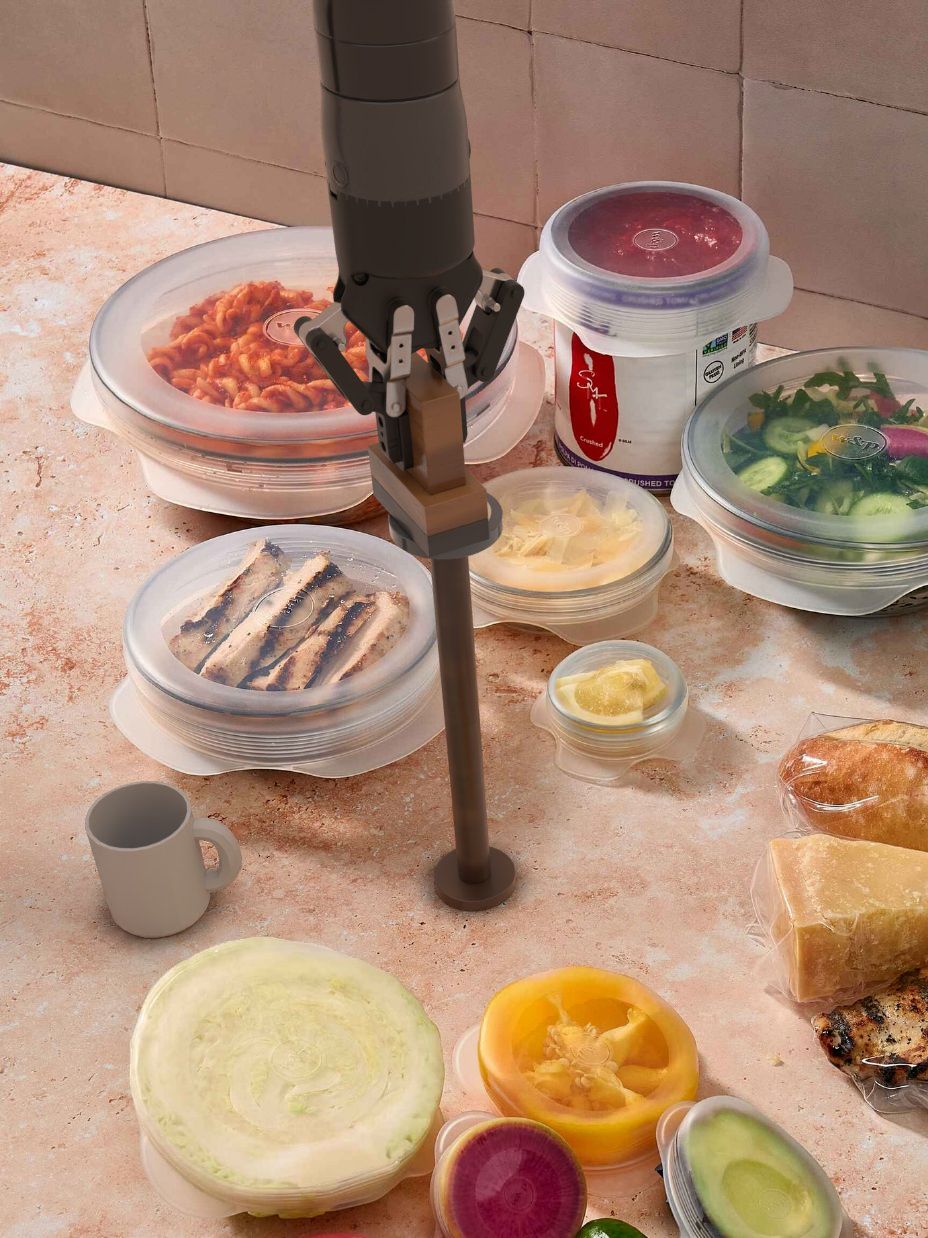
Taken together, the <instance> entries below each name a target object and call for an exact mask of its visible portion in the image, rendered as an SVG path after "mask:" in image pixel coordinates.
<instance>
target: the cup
mask: <svg viewBox="0 0 928 1238" xmlns="http://www.w3.org/2000/svg"><path fill="white" fill-rule="evenodd" d="M84 829H85V831H86V836H87V839H88V843H89V847H90V850H91V853H92V857H93V860H94V863H95V867H96V870H97V873H98V877H99V880H100V884H101V886H102V890H103V894H104V897H105V901H106V904H107V908H108V910H109V913H110V915H111V917H112V919H113V921H114V923H115V924H116V925H117V926H118V927H119V928H120V929H121V930H123V931H126V932H127V933H129V934H131V935H133V936H137V937H140V938H145V939H147V938H148V939H151V938H152V939H159V938H166V937H170V936H173V935H177V934H179V933H181V932H184V931H185V930H187V929H189V928H191V927H192V926H193V925H194V924H195V923H196V922H197V921H199V920H200V919H201V918H202V916H203V915H204V914H205V912H206V910H207V908H208V907H209V904H210V900H211V893H215V892H220V891H223V890H225V889H227V888H228V887H230V886H231V885H232V884H233V883H234V882H235V881H236V880H237V879H238V877H239V874H240V873H241V870H242V866H243V865H242V864H243V855H242V850H241V846H240V844H239V842H238V840H237V838H236V836H235V835H234V833H233V832H232V831H231V829H230V828H228V826H227V825H225V824H224V823H223V822H221V821H219V820H217V819H214V818H209V817H203V816H202V817H194V813H193V808H192V803H191V800H190V799H189V797H188V795H187V794H186V793H185V792H184V791H183V790H182V789H180V787H177V786H175V785H173V784H170V783H169V782H163V781H159V780H140V781H134V782H129V783H125V784H122V785H118V786H115V787H114V788H112V789H110V790H108V791H107V792H105V793H103V794H102V795H101V796H100V797H98V798H97V799H96V800H95V801H94V802H93V803H92V804H91V806H89V808H88V810H87V812H86V815H85V818H84ZM201 841H204V842H209V843H210V844H212V845H213V846H214V847H215V848H216V850H217V855H218V867H215V868H212V869H206V868H207V867H206V863H205V860H204V859H205V858H204V856H203V855H204V854H203V851H202V846H201Z"/></svg>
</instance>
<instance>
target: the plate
mask: <svg viewBox="0 0 928 1238" xmlns="http://www.w3.org/2000/svg"><path fill="white" fill-rule="evenodd" d="M487 507H488V523H489V539H488V540H485V541H482V542H479V543H476V544H472V545H469V546H466V547H463V548H460V549H457V550H454V551H450V552H447V553H444V554H441V555H438V556H435V557H432V558H429V557H428V556H427V554H426V553H425V552H424V551H423V550H422V549H421V548H420V547H419V545H418V544H417V543H416V542H415V541H414V540H413V539H412V538H411V537H410V535H409V534H408V533H407V532H406V531H405V530H404V529H403V528H402V526H401V525H400V524H399V523H398V522H397V521H396V520H395V519H394V518H393V516H392V515H391V514H390V513H389V512H388V518H387V519H388V529H389V535H390V537H391V540H392V541H393V543H394V544H395V545H396V546H397V547H398V548H399V549H401V550H402V551H404V552H406V553H408V554H411V555H413V556H416V557H419V558H424V559H428V560H430V559H442V560H443V559H457V558H463V557H467V556H468V557H470V556H473V555H476V554H479V553H482V552H484V551H486V550H487V549H489V548H490V547H492V546H493V545H494V544H495V543H496V542H497V541H498V540H499V539H500V538H501V536H502V533H503V530H504V511H503V508H502V507H503V506H502V505H501V504H500V501H499V500H498V499H497V498H496V497H495V496H493V495H492V494H491V493H489V492H487Z"/></svg>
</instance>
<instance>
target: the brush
mask: <svg viewBox="0 0 928 1238" xmlns="http://www.w3.org/2000/svg"><path fill="white" fill-rule="evenodd" d="M405 411H406V412H407V413H408V414H409V419H410V429H411V439H412V450H413V460H414V467H413V468H410V469H407V470H403V471H402V470H401V469H400V468H399V467H398V466H397V465H396V464H395V463H394V464H393V463H392V462H391V461H390V460H389V459H388V458H387V457H386V456H385V455H384V454H383V452H382V450H381V449H380V447H379V442H376V443H374V444H373V443H372V444H370V445H367V451H368V459H369V468H370V475H371V485H372V494H373V496H374V497H375V499H376V500H377V501H378V502H379V503H380V504H381V505H382V506H383V508H384V509H385V510H386V511H387V512H388V514H389V513H390V514H391V515H392V516H393V518H394V519H395V520H396V521H397V522H398V523H399V524H400V525H401V526H402V528H403V529H404V530H405V531H406V532H407V533H408V534H409V535H410V537H411V538H412V539H413V540H414V541H415V542H416V543H417V544H418V545H419V547H420V548H421V549H422V550H423V551H424V552H425V553H426V554H427V556H428V557H429V558H432V557H435V556H438V555H441V554H444V553H447V552H450V551H454V550H457V549H460V548H463V547H466V546H469V545H472V544H476V543H479V542H482V541H485V540H488V539H489V523H488V507H487V493H488V492H487V491H488V490H487V488H486V486H484V485H483V484H482V483H481V482H480V481H479V480H478V479H477V478H476V477H475V476H474V475H473V474H472V472H470V471H469V470H468V469H467V468H466V464H465V461H466V460H465V452H464V451H465V447H464V443H463V434H462V420H461V406H460V393H459V392H458V391H457V390H456V389H455V388H454V387H453V386H452V385H451V384H450V383H449V382H447V381H446V380H445V379H444V378H443V377H442V376H441V375H440V374H439V373H438V372H437V371H436V370H435V369H434V368H433V367H432V366H431V365H430V364H429V363H428V361H427V360H426V359H425V358H423V356H422V355H420V353H418V351H416V352H414V353H413V354H411V374H410V377H409V378H407V381H406V408H405ZM429 558H428V559H429Z"/></svg>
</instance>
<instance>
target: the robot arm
mask: <svg viewBox="0 0 928 1238" xmlns="http://www.w3.org/2000/svg"><path fill="white" fill-rule="evenodd" d="M310 1H311V2H310V3H311V15H312V25H313V33H314V34H313V35H314V41H315V42H314V43H315V49H316V60H317V66H318V67H317V68H318V75H319V76H318V77H319V88H320V134H321V135H320V136H321V143H322V152H323V161H324V168H325V177H326V184H327V192H328V201H329V209H330V210H329V211H330V218H331V226H332V227H331V228H332V235H333V242H334V243H333V244H334V250H335V257H336V261H337V267H338V274H337V275H338V276H337V278H336V279H337V280H336V283H335V286H334V288H333V292H332V300H333V302H332V303H331V304H330V305H328V306H327V307H326V308H325V309H323V310H322V311H321V312H319V314H317V315H316V316H315V317H313V318H312V317H311V316H307V315H302V316H300V317H298V318H297V319H296V320H295V322H294V323H293V331H294V333H295V335H296V337H297V338H298V339H299V340H300V342H302V344H303V345H304V347H305V348H306V350H307V351H308V352H309V353H310V355H311V356H312V358H313V359H314V361H316V363H317V364H318V366H319V367H320V368H321V370H322V371H323V372H324V374H325V375H326V376H327V378H328V379H329V381H330V382H331V383H332V384H333V386H334V387H335V389H336V390H337V391H338V392H339V395H341V396H342V397H343V399H345V400H346V401H348V402H349V403H350V405H351V406H352V407H353V408H354V410H355V411H356V412H357V413H358V414H359V415H361V416H368V415H371V414H372V413H375V422H376V423H375V424H376V430H377V439H378V443H379V447H380V449H381V450H382V452H383V454H384V455H385V456H386V457H387V458H388V459H389V460H390V461H391V462H392V463H393V464H394V463H395V464H396V465H397V466H398V467H399V468H400V469H401V470H402V471H403V470H407V469H410V468H413V467H414V460H413V450H412V439H411V429H410V419H409V414H408V413H407V412H406V411H405V408H406V381H407V378H409V377H410V374H411V354H413V353H414V352H418V351H420V350H422V349H424V351H425V355H426V361H427V362H428V363H429V364H430V365H431V366H432V367H433V368H434V369H435V370H436V371H437V372H438V373H439V374H440V375H441V376H442V377H443V378H444V379H445V380H446V381H447V382H449V383H450V384H451V385H452V386H453V387H454V388H455V389H456V390H457V391H458V392H459V393H460V406H461V420H462V434H463V444H466V441H467V438H468V432H469V431H468V426H467V425H468V421H467V406H466V405H467V404H466V395H467V394H468V391H469V389H470V388H472V386H474V385H475V384H476V383H478V382H481V383H487V382H489V381H490V380H491V379H493V377H494V376H495V373H496V370H497V368H498V366H499V363H500V360H501V357H502V354H503V352H504V349H505V347H506V344H507V342H508V339H509V337H510V335H511V331H512V329H513V326H514V323H515V321H516V319H517V316H518V313H519V310H520V308H521V305H522V303H523V300H524V298H525V288H524V286H523V285H522V284H520V283H519V282H518V281H516V280H515V279H514V278H513V277H511V276H510V275H509V274H508V273H506V272H505V271H504V270H503V269H502V268H500V267H494V268H492V269H490V271H489V270H486V269H483V268H482V266H481V264H480V262H479V261H478V259H477V258H476V255H475V252H474V248H475V243H476V241H475V240H476V238H475V223H474V208H473V190H472V178H471V177H472V175H471V163H470V159H471V153H472V146H471V142H470V139H469V128H468V119H467V112H466V107H465V102H464V98H463V97H464V96H463V92H462V87H461V86H462V85H461V77H460V67H459V65H460V64H459V51H458V49H459V48H458V35H457V21H456V19H457V18H456V8H455V0H310ZM473 302H474V303H475V306H474V310H473V312H472V314H471V318H470V320H469V323H468V326H467V329H466V331H465V334H464V337H463V338H462V334H461V329H460V326H461V324H462V322H463V320H464V318H465V316H466V315H467V313H468V311H469V309H470V307H471V305H472V303H473ZM348 323H350V324H351V325H353V327H355V329H356V330H358V331H359V332H360V334H362V335H363V336H364V337H365V357H366V360H367V362H368V381H366V380H362V379H361V378H360V377H359V376H358V374H357V373H356V371H355V370H354V368H353V367H352V365H350V362H348V359H346V357H345V356H344V354H343V352H345V351H346V350H347V344H348V339H347V335H346V333H345V328H346V325H347V324H348Z"/></svg>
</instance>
